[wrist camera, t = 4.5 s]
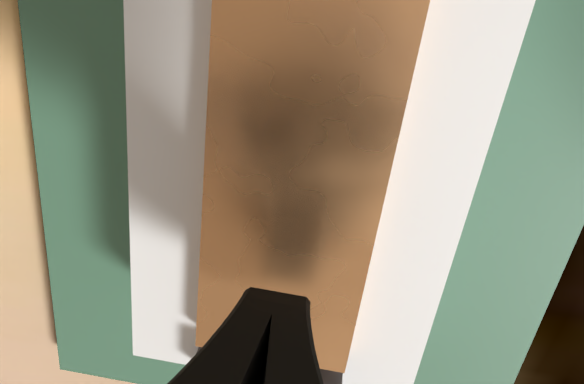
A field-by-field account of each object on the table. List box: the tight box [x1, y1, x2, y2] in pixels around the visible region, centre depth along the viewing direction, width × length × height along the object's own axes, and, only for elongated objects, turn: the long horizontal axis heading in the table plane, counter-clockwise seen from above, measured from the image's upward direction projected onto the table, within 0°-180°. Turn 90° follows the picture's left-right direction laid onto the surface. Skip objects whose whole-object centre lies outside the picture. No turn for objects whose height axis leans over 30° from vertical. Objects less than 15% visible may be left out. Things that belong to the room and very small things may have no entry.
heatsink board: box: [18, 0, 584, 384], centre depth 13 cm, size 16×26×5 cm, turn 173°
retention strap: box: [195, 0, 430, 373], centre depth 12 cm, size 4×12×1 cm, turn 173°
